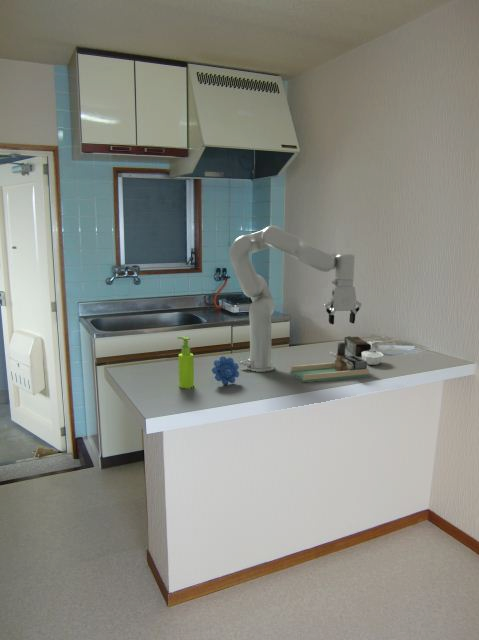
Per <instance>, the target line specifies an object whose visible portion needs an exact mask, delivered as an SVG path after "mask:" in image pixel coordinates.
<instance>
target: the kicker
mask: <svg viewBox="0 0 479 640" xmlns="http://www.w3.org/2000/svg"><path fill="white" fill-rule="evenodd" d="M329 354H330V355H331V356H333V357H334V358H336V359H335V360H334V362H335V370H337V371H346V369H347V364H349V365H353V363H352V362H351V361H349V360H347V359H346V348H345V343H344V342H338V343H337V353H335V352H333V351H330V352H329Z"/></svg>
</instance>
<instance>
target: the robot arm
mask: <svg viewBox="0 0 479 640" xmlns="http://www.w3.org/2000/svg"><path fill="white" fill-rule="evenodd" d="M269 248H272V249H274V250H277V251H278V252H282V253H283V254H285V255H287V256H290V257H292V258H293V259H295V260H297V261H300V262H302V263H303V264H305V265H307V266H308V267H311V268H313V269H316V270H317V271H319V272H324V273H327V272H331V270H335V271H334V273H335V274H334V275H335V277H334V280H332V281H331V284H332V285H334V286H333V288H332V290H331V296H330V300H329V301H327V302H326V303H324V304H323V307H324V310H325V312H326V313H327V314H328V324H330V325H334V324H335V313H336V312H344V311H345V312H346V311H347V312H348V311H349V312H350V313H349V323H350V324H355V321H356V315H357V313H358V312H359V311H360V309H361V307H362V303H361V302H359V301H357V293H356V288H355V286H354V271H355V260H356V259H355V255H354V254H352V253H335V252H327V251H326V252H325V251H323V250H320V249H317V248H315V247H314V246H312V245H310V244H309V243H307V242H306V241H305V240H304V239H302V238H301V237H299V236H296V235H294V234H291V233H289V232H287V231H285V230H283V229H282V228H281V227H280V226H278V225H267V227H265V228H264V229H261V230H259V231H256V232H253V233H249V234H243V235H240V236H238V237H237V238H236V239H235V240H234V242H233V243H232V244H231V247H230V249H229V260H230V264H231V266H232V268H233V270H234V273H235V275H236V278H237V279H236V280H238V281H237V282H238V283H239V286H240V288H241V291H242V293H243V294H244V296H246V297H247V298H250V300H251V302H252V303H250V306H249V309H248V317H249V318H248V319H249V357H248V358H247V359H246V360H239V363H238V364H239V366H244V367H246V369H247V370H248V371H250V370H251V372H255V371H256V373H257V372H259V373H265V372H266V371H267V372H271V371H273V370H274V369H275V365H274V364H273V363H272V314H273V313H274V311H275V309H276V303H275V300H274V298H273V295H272V293H271V290H270V288H269V286H268V285H269V284H267V281H266V279H265V278H264V277H263V276H262V275H260V274H258V273H257V272H256V269H255V267H254V264H253V262H252V260H251V258H250V255H251V254H254V253H257V252H260V251H264V250H266V249H269ZM329 307H330V308H329Z"/></svg>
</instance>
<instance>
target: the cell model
mask: <svg viewBox="0 0 479 640" xmlns="http://www.w3.org/2000/svg"><path fill="white" fill-rule="evenodd" d="M361 359H363V360H365V361H367V365H369V366H370V365H371V366H377V365H379V364H380V363H381V362H382V361H383V360H384V354H383V352H381V351H377V350H376V349H374V348H371V349H370V350H369V351H363V352H362V356H361Z"/></svg>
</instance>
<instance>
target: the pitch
mask: <svg viewBox="0 0 479 640" xmlns="http://www.w3.org/2000/svg"><path fill="white" fill-rule="evenodd" d="M289 370H290V374H291V375H292V374H293V375H294V376H293V375H292V376H293V377H295V378H296V377H297V378H296V379H298V380H299V381H300V380H301V381H300V382H301V383H303V384H305V383H304V382H307V383H315V382H314V381H318V382H325V381H327V382H329V381H336V380H337V381H338V380H348V379H357V378H358V379H359V378H368V377H369V368H367V369H359V370H354V367H353V369H352V370H349V371H348V370H346V371H337V370H335V361H334V362H324V363H323V362H322V363H312V364H311V363H310V364H301V365H290V369H289Z"/></svg>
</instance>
